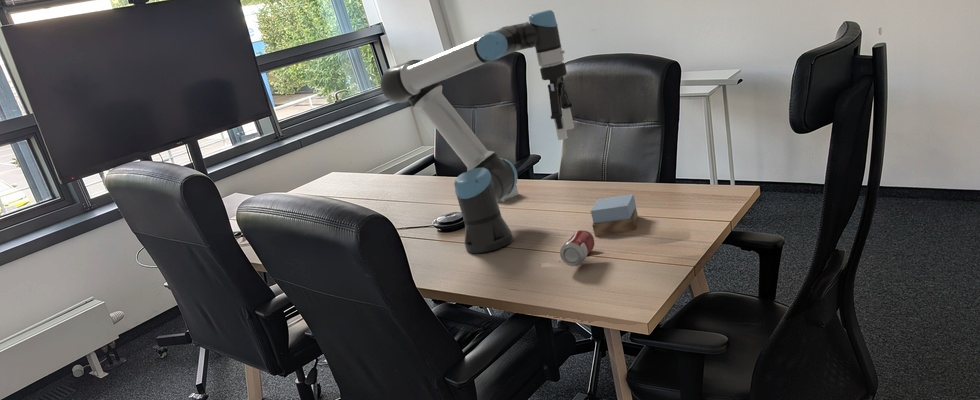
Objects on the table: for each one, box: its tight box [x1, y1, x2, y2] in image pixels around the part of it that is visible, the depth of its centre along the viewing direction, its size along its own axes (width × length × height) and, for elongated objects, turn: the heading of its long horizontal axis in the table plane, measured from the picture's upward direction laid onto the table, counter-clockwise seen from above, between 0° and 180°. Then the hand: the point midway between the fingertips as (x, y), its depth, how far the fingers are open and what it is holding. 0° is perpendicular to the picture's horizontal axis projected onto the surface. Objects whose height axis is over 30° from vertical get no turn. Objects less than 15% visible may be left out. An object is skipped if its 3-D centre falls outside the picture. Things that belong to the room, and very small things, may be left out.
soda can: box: [559, 230, 595, 267], centre depth 204 cm, size 7×7×12 cm
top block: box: [590, 193, 637, 224], centre depth 222 cm, size 11×11×4 cm
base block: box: [592, 207, 639, 237], centre depth 223 cm, size 12×12×4 cm
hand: (566, 134), depth 225 cm, fingers open, 13 cm apart
